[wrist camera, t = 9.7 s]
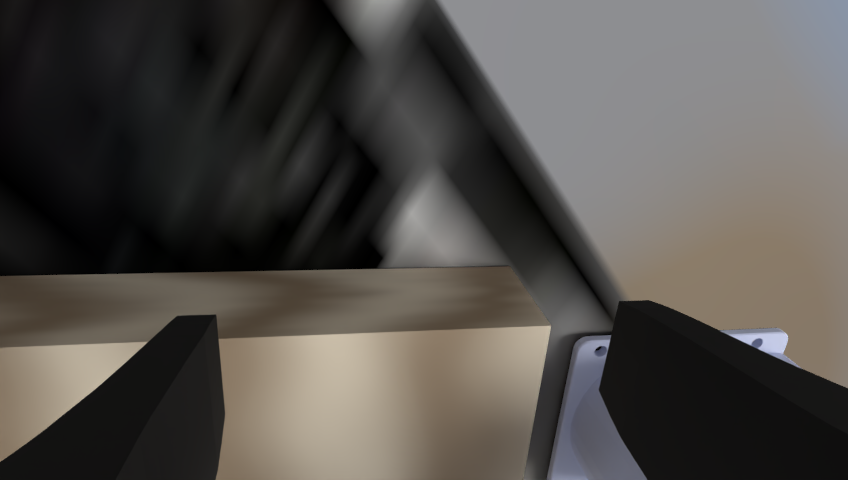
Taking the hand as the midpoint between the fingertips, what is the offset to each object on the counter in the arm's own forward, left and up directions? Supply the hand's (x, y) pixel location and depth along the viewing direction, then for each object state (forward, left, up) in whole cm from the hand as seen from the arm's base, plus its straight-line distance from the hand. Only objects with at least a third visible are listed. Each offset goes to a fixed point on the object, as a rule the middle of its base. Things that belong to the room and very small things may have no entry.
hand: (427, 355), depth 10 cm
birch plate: (+4, +11, -9) cm, 15 cm away
